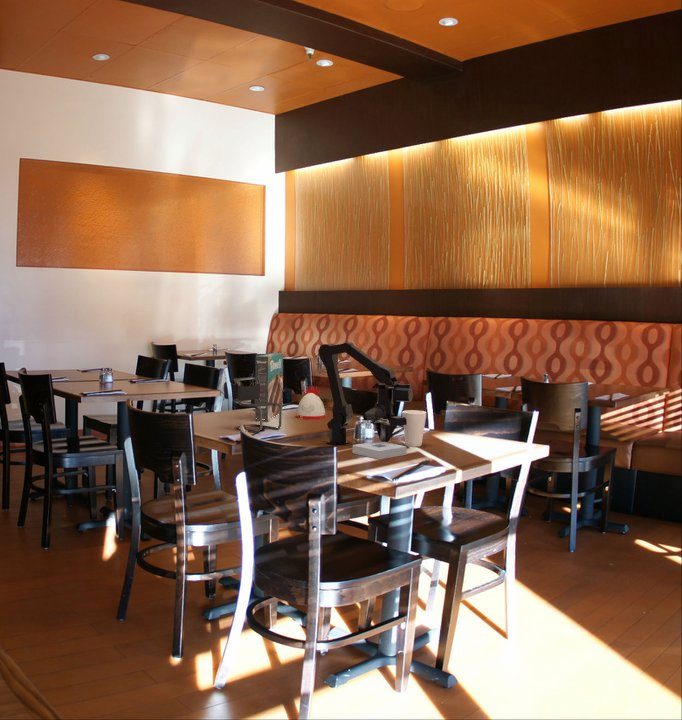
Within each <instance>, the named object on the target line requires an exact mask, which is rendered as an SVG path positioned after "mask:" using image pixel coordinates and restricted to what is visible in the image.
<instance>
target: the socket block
mask: <svg viewBox="0 0 682 720" xmlns="http://www.w3.org/2000/svg"><path fill="white" fill-rule="evenodd" d="M407 447H408V446H407V445H400V444H396V443H392V442H388V443H387V442H383V441H380V440H378V441H372V442H365V443H363V442H362V443H357V444H353V445H352V454H354V455H358V456H363V457H367V458H371V459H375V460H382V459H383V460H384V459H389V458H395V457H401V456H402V457H403V456H407Z"/></svg>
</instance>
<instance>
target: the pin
mask: <svg viewBox="0 0 682 720" xmlns="http://www.w3.org/2000/svg"><path fill="white" fill-rule="evenodd" d="M383 424H387V421H386V422H382V423H381V434H380V439H379V441H383V442H386V435H385V427H384V426H383ZM387 443H389V441H388V442H387Z"/></svg>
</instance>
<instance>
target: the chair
mask: <svg viewBox="0 0 682 720" xmlns="http://www.w3.org/2000/svg"><path fill="white" fill-rule="evenodd" d="M247 380H249V381H250V380H255V381H256V380H257V385H256V384H254V385H250V386H249V385H248V386H244V385H243V386H242V385H241V381H247ZM233 382H236V383H237V403H238V405H239V406H240V407H242V408H243V407H244V408H250V409H255V408H256V409H259V411H260V422H259V424H255V423H252V424H245V426H246V429H247V428H254V427H255V428H259V429H258V430H254V429H247V430H248V432H247V433H252V432H257V431H259V430H262V431H263V429H268V430H274V431H278V430H280V429H281V428H282V425H283V424H282V416H283V408H282V409H281V406H280V405H279V404H278V403H271V402H264V401H261V400H260V381H259V379H258V378H257V377H256V376H248V377H236V378H233ZM255 399H258V401H259V402H258V403H242V401H244V402H245V401H251V400H252V401H253V400H255ZM271 405H273V406H278V408H279V417H278V426H277V427H278V428H276V426H270V425H265V424H264V425H263V422H262V409H261V408H260V407H259V406H271ZM240 426H241V425H239V426H236V427H235V430H236V429H237V430H236V431H240V430H239V427H240ZM280 427H281V428H280Z"/></svg>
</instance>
